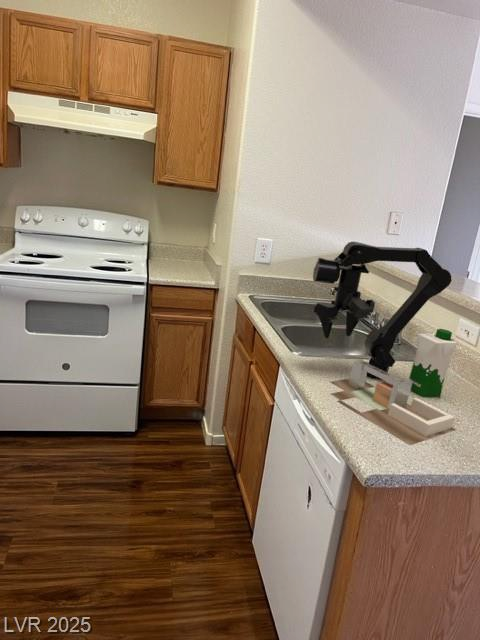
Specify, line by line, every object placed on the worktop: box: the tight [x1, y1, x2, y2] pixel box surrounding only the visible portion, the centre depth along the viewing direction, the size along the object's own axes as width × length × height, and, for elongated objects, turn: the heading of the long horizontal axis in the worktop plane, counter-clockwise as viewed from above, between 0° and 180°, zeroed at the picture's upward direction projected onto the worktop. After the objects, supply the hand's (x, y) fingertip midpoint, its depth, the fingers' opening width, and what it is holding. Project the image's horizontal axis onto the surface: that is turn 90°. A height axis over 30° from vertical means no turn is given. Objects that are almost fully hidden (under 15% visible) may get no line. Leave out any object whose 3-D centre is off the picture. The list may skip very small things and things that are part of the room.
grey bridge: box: [349, 359, 413, 410], centre depth 130 cm, size 6×16×8 cm, turn 37°
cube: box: [373, 380, 393, 408], centre depth 127 cm, size 5×5×5 cm
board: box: [329, 377, 457, 446], centre depth 125 cm, size 19×32×2 cm, turn 35°
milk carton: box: [408, 328, 458, 399], centre depth 137 cm, size 9×9×20 cm
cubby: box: [388, 397, 456, 436], centre depth 119 cm, size 11×11×3 cm
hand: (337, 336), depth 143 cm, fingers open, 9 cm apart
